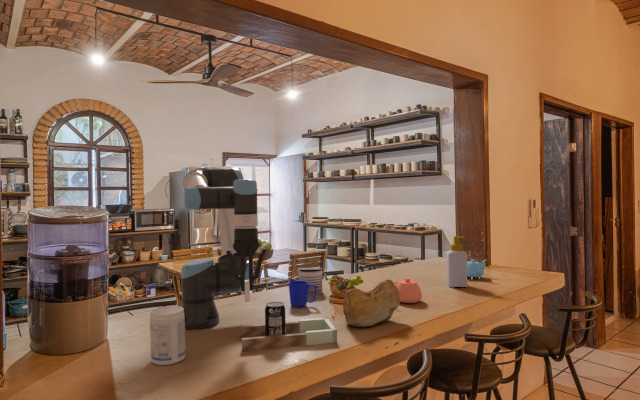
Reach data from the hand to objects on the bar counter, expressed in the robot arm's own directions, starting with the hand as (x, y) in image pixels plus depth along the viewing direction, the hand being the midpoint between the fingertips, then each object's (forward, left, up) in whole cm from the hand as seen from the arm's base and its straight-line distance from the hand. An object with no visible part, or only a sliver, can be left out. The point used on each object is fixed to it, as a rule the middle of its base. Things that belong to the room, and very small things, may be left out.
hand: (247, 300), depth 137 cm
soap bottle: (+107, +56, -14) cm, 122 cm away
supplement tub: (-23, -8, -14) cm, 28 cm away
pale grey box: (+23, 0, -14) cm, 27 cm away
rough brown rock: (+45, +13, -14) cm, 49 cm away
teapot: (+126, +72, -14) cm, 146 cm away
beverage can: (+9, 0, -14) cm, 17 cm away
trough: (+8, 0, -14) cm, 16 cm away
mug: (+25, +39, -14) cm, 49 cm away
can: (+33, +63, -14) cm, 73 cm away
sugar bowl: (+70, +35, -14) cm, 80 cm away
